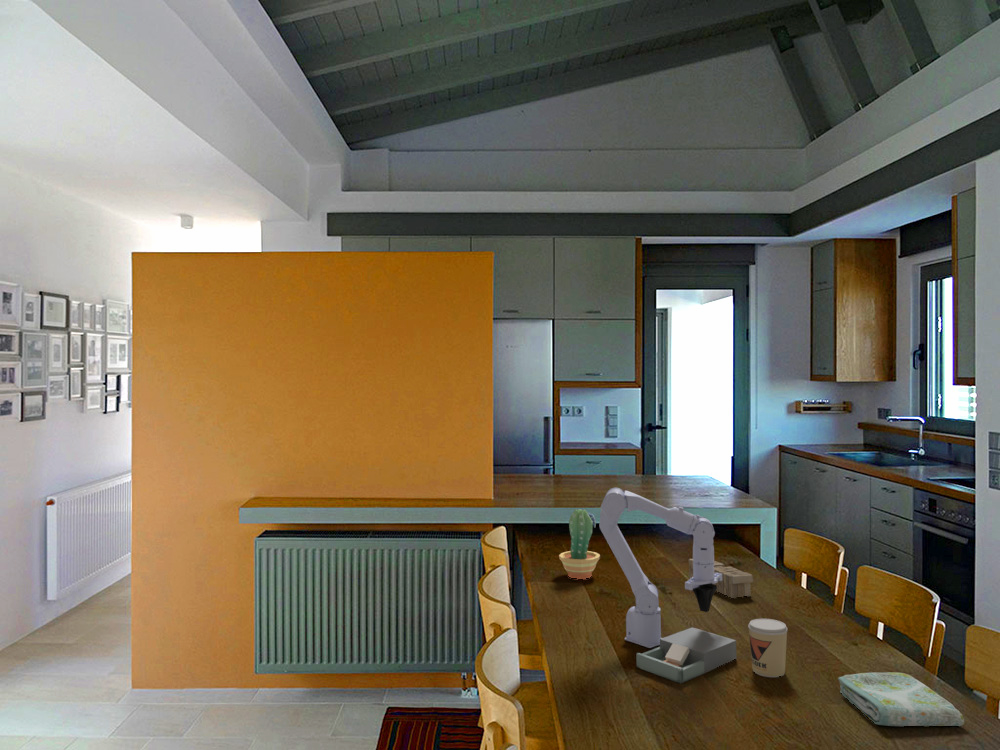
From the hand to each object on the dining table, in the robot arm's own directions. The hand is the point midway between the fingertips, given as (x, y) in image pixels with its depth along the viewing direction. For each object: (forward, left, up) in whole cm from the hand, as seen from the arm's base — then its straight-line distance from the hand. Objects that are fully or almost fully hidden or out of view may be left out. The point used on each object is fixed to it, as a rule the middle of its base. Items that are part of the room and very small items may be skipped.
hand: (704, 610), depth 212 cm
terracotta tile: (+5, -23, -8) cm, 25 cm away
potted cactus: (-74, +25, -10) cm, 79 cm away
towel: (+52, -2, -10) cm, 53 cm away
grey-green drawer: (+5, -22, -9) cm, 24 cm away
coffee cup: (+22, -4, -10) cm, 24 cm away
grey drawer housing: (+5, -10, -9) cm, 15 cm away
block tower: (-31, +50, -10) cm, 60 cm away
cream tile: (+6, -19, -6) cm, 21 cm away
